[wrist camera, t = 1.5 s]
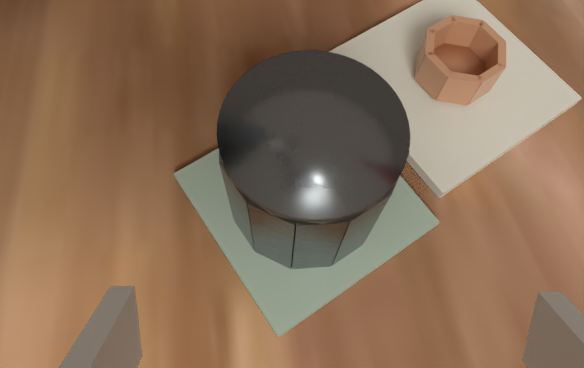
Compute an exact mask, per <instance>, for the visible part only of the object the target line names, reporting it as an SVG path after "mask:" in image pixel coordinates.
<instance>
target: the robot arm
mask: <svg viewBox="0 0 584 368" xmlns="http://www.w3.org/2000/svg"><path fill="white" fill-rule="evenodd" d="M141 357H142V349H141V340H140V331H139V322H138V313H137V305H136V296H135V287H134V286H110V288H109V290H108V291H107V293H106V294H105V296H104V297H103V299H102V301H101V302H100V304H99V305H98V307H97V309H96V310H95V312H94V313H93V315H92V316H91V318H90V320H89V321H88V323H87V324H86V326H85V327H84V329H83V331H82V332H81V334H80V335H79V337H78V338H77V340H76V342H75V343H74V345H73V346H72V348H71V350H70V351H69V353H68V354H67V356H66V357H65V359H64V361H63V362H62V364H61V365H60V367H59V368H137V367H138V365H139V362H140V360H141ZM522 360H523V362H524V363H525V365H526V366H527V368H584V315H583V314H582V313H581V312H580V311H579V310H578V309H577V308H576V307H575V306H574V305H573V304H572V302H571V301H570V300H569V299H568V298H567V297H566V296H565V295H564V294H563V293H562V292H538V295H537V299H536V303H535V308H534V312H533V316H532V321H531V325H530V329H529V334H528V338H527V342H526V346H525V351H524V355H523V359H522Z"/></svg>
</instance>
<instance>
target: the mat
mask: <svg viewBox="0 0 584 368" xmlns="http://www.w3.org/2000/svg"><path fill="white" fill-rule="evenodd" d="M173 175H174V177H175V179H176V180H177V182H178V183H179V185H180V186H181V188H182V189H183V191H184V193H185V194H186V196H187V197H188V199H189V200H190V202H191V203H192V205H193V206H194V208H195V210H196V211H197V213H198V214H199V216H200V217H201V219H202V220H203V222H204V224H205V225H206V227H207V228H208V230H209V231H210V233H211V234H212V236H213V237H214V239H215V241H216V242H217V244H218V245H219V247H220V248H221V250H222V251H223V253H224V255H225V256H226V258H227V259H228V261H229V262H230V264H231V265H232V267H233V269H234V270H235V272H236V273H237V275H238V276H239V278H240V279H241V281H242V282H243V284H244V286H245V287H246V289H247V290H248V292H249V293H250V295H251V296H252V298H253V300H254V301H255V303H256V304H257V306H258V307H259V309H260V310H261V312H262V313H263V315H264V317H265V318H266V320H267V321H268V323H269V324H270V326H271V327H272V329H273V331H274V332H275V334H276V335H277V337H278V338H279V337H280V336H282V335H283V334H285V333H286V332H287V331H289V330H290V329H292V328H293V327H294V326H296V325H297V324H299V323H300V322H302V321H303V320H304V319H306V318H307V317H309V316H310V315H311V314H313V313H314V312H316V311H317V310H318V309H320V308H321V307H323V306H324V305H325V304H327V303H328V302H330V301H331V300H333V299H334V298H335V297H337V296H338V295H340V294H341V293H342V292H344V291H345V290H347V289H348V288H349V287H351V286H352V285H354V284H355V283H357V282H358V281H359V280H361V279H362V278H364V277H365V276H366V275H368V274H369V273H371V272H372V271H373V270H375V269H376V268H378V267H379V266H381V265H382V264H383V263H385V262H386V261H388V260H389V259H390V258H392V257H393V256H395V255H396V254H397V253H399V252H400V251H402V250H403V249H405V248H406V247H407V246H409V245H410V244H412V243H413V242H414V241H416V240H417V239H419V238H420V237H421V236H423V235H424V234H426V233H427V232H429V231H430V230H431V229H433V228H434V227H436V226H437V225H438V224H439V223H440V222H439V221H438V219H437V218H436V217H435V216H434V215H433V214H432V212H431V211H430V210H429V209H428V208H427V206H426V205H425V204H424V203H423V202H422V201H421V199H420V198H419V197H418V196H417V195H416V193H415V192H414V191H413V190H412V189H411V187H410V186H409V185H408V184H407V183H406V182H405V180H404V179H403V178H402V177H401V176H399V179H398V181H397V183H396V186H395V188H394V190H393V193H392V195H391V196H390V198H389V200H388V202H387V204H386V205H385V207H384V209H383V211H382V212H381V214H380V216H379V218H378V219H377V221H376V223H375V225H374V226H373V228H372V230H371V232H370V234H369V235H368V237H367V239H366V241H365V242H364V244H363V245H362V246H360V247H359V248H358V249H356V250H355V251H353V252H352V253H350V254H349V255H347V256H346V257H344V258H343V259H342V260H340V261H339V262H337V263H336V264H334V265H333V266H332V265H331V267H316V268H302V269H292V267H291V269H289V268H287V267H285V266H283V265H281V264H279V263H277V262H275V261H273V260H271V259H269V258H266V257H264V256H262V255H260V254H258V253H256V252H255V251H254V250H253V248H252V247H251V245H250V244H249V242H248V241H247V240H246V238H245V237H244V235H243V234H242V232H241V231H240V229H239V228H238V226H237V225H236V223H235V222H234V219H233V215H232V211H231V207H230V204H229V200H228V196H227V192H226V188H225V184H224V180H223V176H222V172H221V168H220V164H219V148H218V149H216V150H214V151H212V152H211V153H209V154H207V155H205V156H204V157H202V158H200V159H198V160H196V161H195V162H193V163H191V164H189V165H188V166H186V167H184V168H182V169H181V170H179V171H177V172H175V173H174V174H173Z"/></svg>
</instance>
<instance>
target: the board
mask: <svg viewBox="0 0 584 368" xmlns="http://www.w3.org/2000/svg"><path fill="white" fill-rule="evenodd" d="M452 15H455V16H461V17H467V18H473V19H480V20H483V21H485V22H486V23H487V24H488V25H489V26H490V27H491V28H492V29H494V30H495V31H496V32H497V33H498V34H499V35H500V36H501V37H502V38H503V39H504V40H505V41H506V68H505V70H504V71H503V73H502V74H501V75H500V77H499V78H498V80H497V81H496V83H495V84H494V85H493V87H492V88H491V90H490V91H489V92H488V93H486V94H485V95H483V96H481V97H480V98H478V99H477V100H475V101H474V102H472V103H471V104H469V105H466V106H464V105H458V104H453V103H447V102H441V101H436V100H434V99H433V98H432V97H431V96H430V95H429V94H428V92H427V91H426V90H425V89H424V88H423V87H422V86H421V85H420V84H419V83H418V82H417V81H416V80H415V69H416V59H417V53H418V51H419V48H420V46H421V43H422V41H423V39H424V36H425V34H426V31H427V29H428V28H429V27H431V26H433V25H435V24H437V23H438V22H440V21H442V20H444V19H445V18H447V17H449V16H452ZM329 52H331V53H336V54H340V55H343V56H346V57H349V58H352V59H354V60H356V61H358V62H361V63H363V64H364V65H366V66H368V67H369V68H371V69H372V70H374V71H375V72H376V73H378V74H379V75H380V76H381V77H382V78H383V79H384V80H385V81H386V82H387V83H388V84H389V85H390V86H391V87H392V89H393V90H394V91H395V92H396V94H397V95H398V97H399V99H400V100H401V102H402V104H403V107H404V109H405V111H406V114H407V118H408V121H409V128H410V148H409V151H410V152H409V155H408V158H407V160H406V161H407V162H408V163H409V164H410V165H411V167H412V168H413V169H414V170H415V171H416V172H417V174H418V175H419V176H420V177H421V178H422V179H423V180H424V182H425V183H426V184H427V185H428V186H429V187H430V189H431V190H432V191H433V192H434V193H435V194H436V196H437V197H438V198H439V199H440V198H441V197H442V196H444V195H445V194H447V193H448V192H450V191H451V190H453V189H454V188H455V187H457V186H458V185H460V184H461V183H463V182H464V181H466V180H467V179H468V178H470V177H471V176H473V175H474V174H476V173H477V172H479V171H480V170H482V169H483V168H484V167H486V166H487V165H489V164H490V163H492V162H493V161H495V160H496V159H497V158H499V157H500V156H502V155H503V154H505V153H506V152H508V151H509V150H510V149H512V148H513V147H515V146H516V145H518V144H519V143H521V142H522V141H523V140H525V139H526V138H528V137H529V136H531V135H532V134H534V133H535V132H536V131H538V130H539V129H541V128H542V127H544V126H545V125H547V124H548V123H550V122H551V121H552V120H554V119H555V118H557V117H558V116H560V115H561V114H563V113H564V112H565V111H567V110H568V109H570V108H571V107H573V106H574V105H575V104H576V103H577V102H578V101H579V100H581V99H582V98H581V97H580V96H579V95H578V94H577V93H576V92H575V91H574V90H573V89H572V88H571V87H570V86H568V85H567V84H566V83H565V82H564V81H563V80H562V79H561V78H560V77H559V76H558V75H557V74H556V73H554V72H553V71H552V70H551V69H550V68H549V67H548V66H547V65H546V64H545V63H544V62H543V61H541V60H540V59H539V58H538V57H537V56H536V55H535V54H534V53H533V52H532V51H531V50H530V49H529V48H527V47H526V46H525V45H524V44H523V43H522V42H521V41H520V40H519V39H518V38H517V37H516V36H515V35H513V34H512V33H511V32H510V31H509V30H508V29H507V28H506V27H505V26H504V25H503V24H502V23H500V22H499V21H498V20H497V19H496V18H495V17H494V16H493V15H492V14H491V13H490V12H489V11H488V10H486V9H485V8H484V7H483V6H482V5H481V4H480V3H479V2H478V1H477V0H422V1H420V2H419V3H417V4H415V5H413V6H411V7H410V8H408V9H406V10H404V11H402V12H400V13H399V14H397V15H395V16H393V17H391V18H389V19H388V20H386V21H384V22H382V23H380V24H378V25H377V26H375V27H373V28H371V29H369V30H367V31H366V32H364V33H362V34H360V35H358V36H357V37H355V38H353V39H351V40H349V41H347V42H346V43H344V44H342V45H340V46H338V47H336V48H335V49H333V50H331V51H329Z"/></svg>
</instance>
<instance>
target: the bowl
mask: <svg viewBox="0 0 584 368" xmlns="http://www.w3.org/2000/svg"><path fill="white" fill-rule="evenodd" d="M505 68H506V41H505V40H504V39H503V38H502V37H501V36H500V35H499V34H498V33H497V32H496V31H495V30H494V29H492V28H491V27H490V26H489V25H488V24H487V23H486V22H485V21H483V20H480V19H473V18H467V17H461V16H455V15H452V16H449V17H447V18H445V19H444V20H442V21H440V22H438V23H437V24H435V25H433V26H431V27H429V28H428V29H427V31H426V34H425V36H424V39H423V41H422V43H421V46H420V48H419V51H418V53H417V59H416V69H415V80H416V81H417V82H418V83H419V84H420V85H421V86H422V87H423V88H424V89H425V90H426V91H427V92H428V94H429V95H430V96H431V97H432V98H433V99H434V100H436V101H441V102H447V103H453V104H458V105H464V106H466V105H469V104H471V103H472V102H474V101H475V100H477V99H478V98H480V97H481V96H483V95H485V94H486V93H488V92H489V91H490V90H491V88H492V87H493V85H494V84H495V83H496V81H497V80H498V78H499V77H500V75H501V74H502V73H503V71H504V70H505Z"/></svg>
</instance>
